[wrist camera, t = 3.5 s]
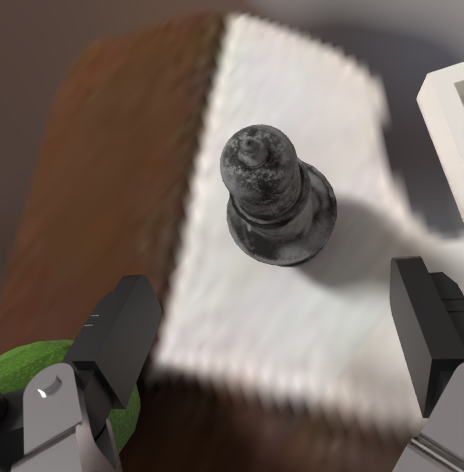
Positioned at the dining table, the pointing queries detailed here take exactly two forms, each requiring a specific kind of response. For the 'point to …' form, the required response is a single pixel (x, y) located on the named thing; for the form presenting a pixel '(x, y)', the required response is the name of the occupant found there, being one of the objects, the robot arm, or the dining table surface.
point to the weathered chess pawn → (275, 198)
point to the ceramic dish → (447, 123)
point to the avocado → (52, 352)
